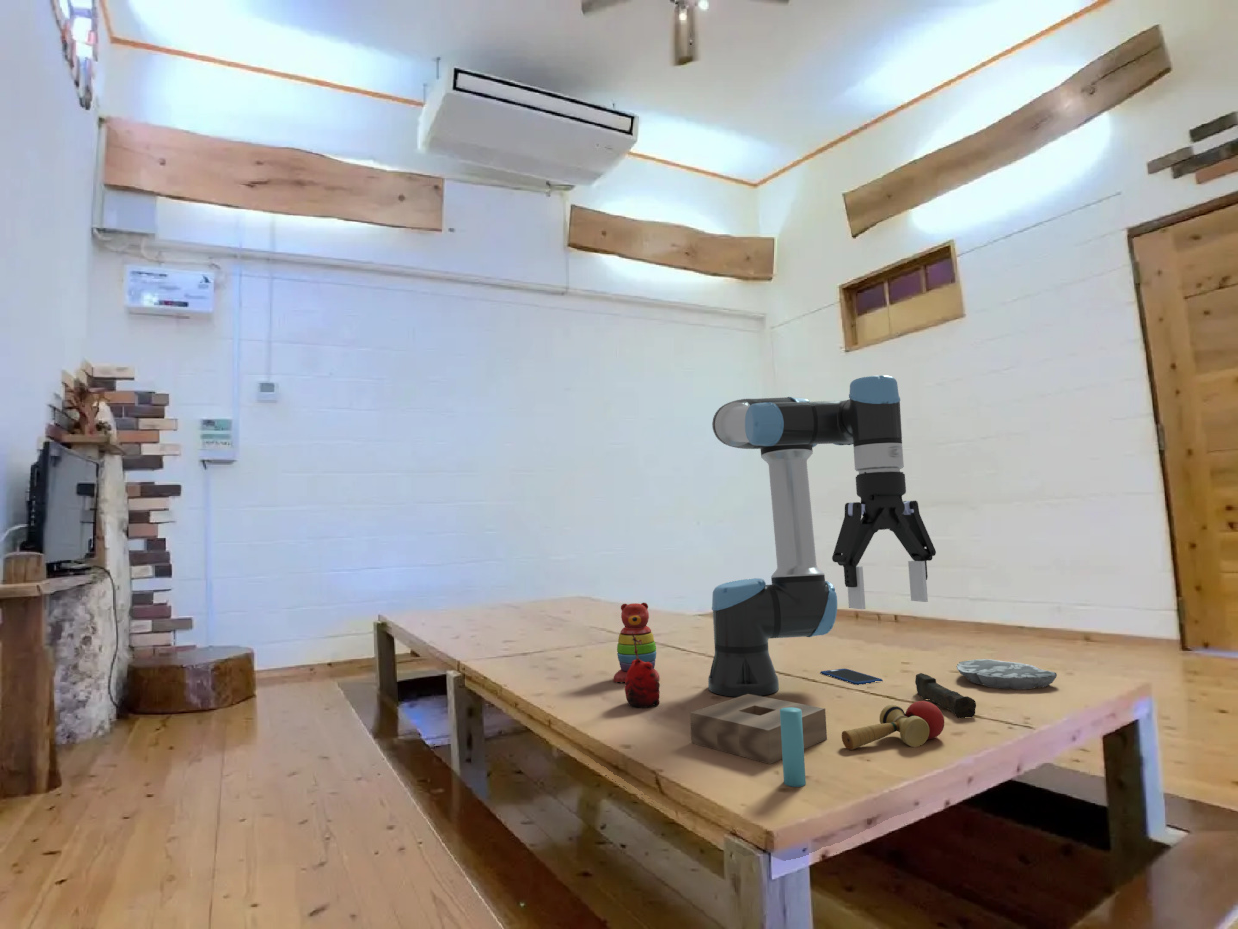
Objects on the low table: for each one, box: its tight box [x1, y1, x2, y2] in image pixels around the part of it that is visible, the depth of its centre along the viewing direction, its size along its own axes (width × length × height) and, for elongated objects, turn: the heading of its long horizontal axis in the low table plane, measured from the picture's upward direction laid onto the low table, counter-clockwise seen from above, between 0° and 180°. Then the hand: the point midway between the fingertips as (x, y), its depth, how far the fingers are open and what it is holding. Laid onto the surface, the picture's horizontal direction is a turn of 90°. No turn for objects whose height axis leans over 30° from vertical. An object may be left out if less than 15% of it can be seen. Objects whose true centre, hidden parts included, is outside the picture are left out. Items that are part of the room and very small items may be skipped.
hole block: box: [689, 694, 828, 765], centre depth 119 cm, size 16×16×5 cm
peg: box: [780, 707, 807, 788], centre depth 101 cm, size 3×3×10 cm
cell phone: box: [819, 668, 883, 686], centre depth 163 cm, size 7×14×1 cm, turn 19°
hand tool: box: [914, 672, 977, 719], centre depth 137 cm, size 19×4×5 cm, turn 0°
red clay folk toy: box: [624, 633, 661, 708], centre depth 146 cm, size 8×7×15 cm
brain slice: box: [955, 658, 1058, 690], centre depth 153 cm, size 20×17×3 cm
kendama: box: [841, 700, 945, 751], centre depth 116 cm, size 8×6×18 cm
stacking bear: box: [612, 602, 661, 683], centre depth 170 cm, size 11×10×18 cm
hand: (889, 605), depth 113 cm, fingers open, 13 cm apart
